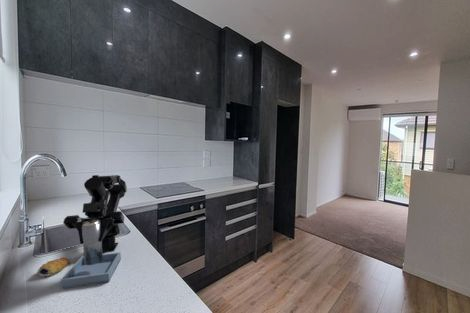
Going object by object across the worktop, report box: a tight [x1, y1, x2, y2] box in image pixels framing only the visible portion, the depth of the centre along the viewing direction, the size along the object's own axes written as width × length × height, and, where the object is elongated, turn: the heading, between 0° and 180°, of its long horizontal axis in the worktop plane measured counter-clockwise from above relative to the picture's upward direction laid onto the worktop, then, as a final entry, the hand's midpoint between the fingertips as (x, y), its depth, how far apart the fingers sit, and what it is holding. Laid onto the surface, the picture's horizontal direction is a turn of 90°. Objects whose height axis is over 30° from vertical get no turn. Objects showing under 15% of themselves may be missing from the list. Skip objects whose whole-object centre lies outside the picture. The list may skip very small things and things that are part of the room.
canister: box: [82, 219, 104, 265], centre depth 77 cm, size 6×6×15 cm
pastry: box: [36, 257, 70, 277], centre depth 80 cm, size 9×7×4 cm
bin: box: [60, 252, 122, 289], centre depth 78 cm, size 14×14×3 cm
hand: (91, 242), depth 76 cm, fingers closed on canister, 6 cm apart
